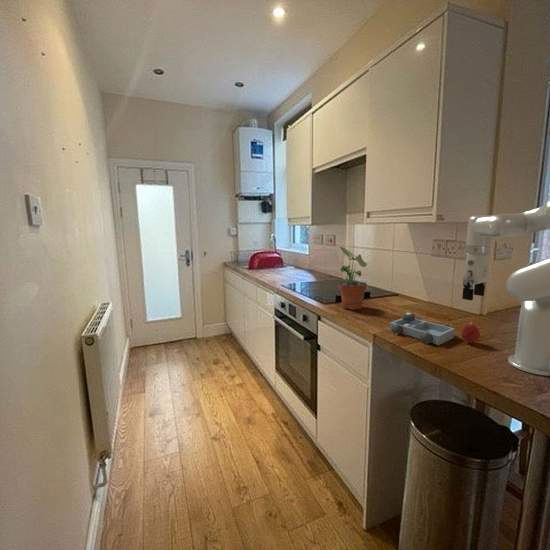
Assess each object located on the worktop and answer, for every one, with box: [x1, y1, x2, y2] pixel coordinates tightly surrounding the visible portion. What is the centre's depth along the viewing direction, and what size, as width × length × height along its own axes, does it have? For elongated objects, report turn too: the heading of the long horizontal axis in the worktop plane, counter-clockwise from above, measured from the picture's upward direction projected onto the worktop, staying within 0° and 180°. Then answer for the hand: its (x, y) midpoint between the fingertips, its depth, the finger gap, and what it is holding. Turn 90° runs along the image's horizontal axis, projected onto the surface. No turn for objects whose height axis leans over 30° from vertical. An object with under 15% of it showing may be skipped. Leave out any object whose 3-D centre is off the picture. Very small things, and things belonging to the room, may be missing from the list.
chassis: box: [389, 316, 456, 346], centre depth 123 cm, size 20×17×4 cm
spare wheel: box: [402, 312, 416, 321], centre depth 127 cm, size 5×5×2 cm
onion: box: [460, 322, 481, 344], centre depth 113 cm, size 6×6×8 cm
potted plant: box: [338, 246, 369, 310], centre depth 159 cm, size 16×15×35 cm
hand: (473, 297), depth 111 cm, fingers open, 9 cm apart
